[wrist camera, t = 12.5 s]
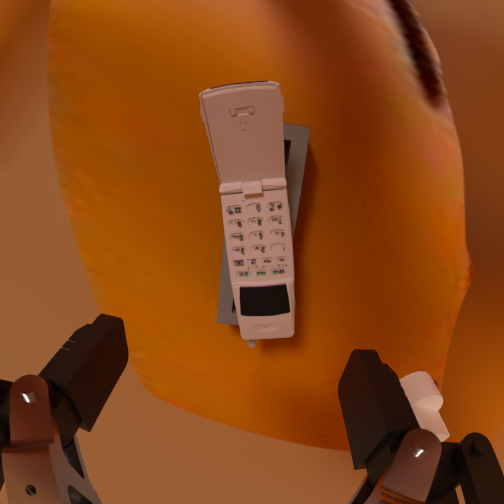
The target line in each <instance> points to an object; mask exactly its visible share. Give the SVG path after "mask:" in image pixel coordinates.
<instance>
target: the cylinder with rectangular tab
mask: <svg viewBox="0 0 504 504" xmlns="http://www.w3.org/2000/svg"><path fill="white" fill-rule="evenodd" d="M399 381H400V383H401V386H402V387H403V389H404V391H405V395H406V396H407V398H408V400H409V402H410V405H411V407H412V409H413V412H414V414H415V416H416V419H417V421H418V423H419V426H420V428H422V429H427V430H429V431H431V432H433V433H434V434H435V435H436V436H437V437H438V438H439V440H440V442H443V441H444V440H446V439H447V438H448V437H449V436H450V435H449V432H448V430H447V429H446V426H445V424H444V422H443V420H442V418H441V416H440V414H439V412H438V410H439V409H440V407H441V406H442V404H443V398H442V396H441V394H440V392H439V391H438V389H437V387H436V385H435V384H434V382H433V380H432V378H431V377H430V375H429V374H428V373H427V372H423V371H419V372H414V373H411V374H409V375H407V376H405V377H403V378H402V379H400V380H399Z"/></svg>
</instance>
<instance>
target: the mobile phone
mask: <svg viewBox="0 0 504 504" xmlns="http://www.w3.org/2000/svg"><path fill="white" fill-rule="evenodd" d="M199 98H200V103H201V106H200V112H201V117H202V121H203V122H205V127H206V131H207V135H208V139H209V143H210V147H211V150H212V154H213V158H214V162H215V166H216V170H217V174H218V178H219V176H220V178H219V182H220V180H221V182H220V186H219V191H220V195H221V201H222V211H223V212H222V213H223V222H224V231H225V240H226V249H227V257H228V264H229V272H230V280H231V285H232V291H233V297H234V302H235V307H236V312H237V318H238V322H239V328H240V333H241V337H242V338H243V339H245V340H247V341H248V345H249V347H255V344H256V339H271V338H287V337H292V336H293V334H294V331H295V308H296V300H295V296H294V278H295V272H294V256H293V241H292V228H291V217H290V207H289V204H288V196H287V188H286V186H287V184H286V179H285V158H284V137H283V118H282V116H283V115H282V113H284V99H283V96H281V94H280V85H279V83H277V82H274V81H257V82H245V83H235V84H228V85H223V86H219V87H214V88H210V89H207V90H205V91H203V92H201V93H200V95H199ZM281 103H282V104H281ZM218 171H219V173H218Z"/></svg>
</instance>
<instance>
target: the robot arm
mask: <svg viewBox="0 0 504 504" xmlns="http://www.w3.org/2000/svg"><path fill="white" fill-rule="evenodd" d="M128 354H129V353H128V346H127V341H126V335H125V329H124V323H123V320H122V319H121V318H119V317H115V316H111V315H107V314H100V315H99V316H98V317H97V318H96V320H95V321H94V322H93V323H92V324H87V325H85V326H83V327H81V328H80V329H78V330H76V331H75V332H74V334H73V335H72V336H71V337H70V338H69V341H67V342H66V343H65V344H64V345H63V346H62V348H61V349H60V350H59V351H58V352H57V353H56V354H55V356H54V357H53V358H52V359H51V360H50V361H49V363H48V364H47V365H46V366H45V367H44V369H43V370H42V371H41V372H40V374H39V375H38V376H37V375H24V376H22V377H20V378H18V379H17V380H16V381H15V382H10V381H6V380H1V379H0V490H1V488H2V486H3V483H4V481H5V486H6V492H7V497H8V502H9V504H102V502H101V500H100V498H99V497H98V495H97V493H96V491H95V490H94V488H93V486H92V485H91V483H90V480H89V477H88V474H87V471H86V468H85V465H84V461H83V458H82V455H81V451H80V447H79V444H78V439H77V436H76V432H77V430H78V428H81V429H84V430H86V431H88V432H90V431H91V429H92V427H93V425H94V424H95V422H96V420H97V418H98V416H99V414H100V412H101V410H102V408H103V407H104V405H105V403H106V401H107V399H108V397H109V396H110V394H111V392H112V390H113V388H114V387H115V385H116V383H117V381H118V379H119V378H120V376H121V374H122V372H123V371H124V369H125V367H126V365H127V362H128ZM338 396H339V400H340V404H341V409H342V413H343V418H344V422H345V427H346V431H347V436H348V440H349V445H350V450H351V455H352V460H353V465H354V469H355V470H357V469H365V468H366V469H367V474H368V475H367V476H366V477H365V478H364V480H363V481H362V483H361V484H360V486H359V488H358V489H357V491H356V492H355V494H354V495H353V497H352V499H351V500H350V502H349V503H348V504H459V501H458V498H457V494H456V490H455V488H456V487H458V486H459V485H461V488H462V492H463V496H464V499H465V503H466V504H504V475H503V473H502V470H501V467H500V465H499V462H498V460H497V457H496V455H495V452H494V450H493V448H492V445H491V443H490V441H489V440H488V439H487V438H486V437H485V436H484V435H482V434H480V433H476V432H475V433H470V434H468V435H467V436H466V437H465V438H464V439H463V440H462V441H461V442H460V443H454V442H440V440H439V438H438V437H437V436H436V435H435V434H434V433H433V432H431V431H429V430H427V429H422V428H420V426H419V423H418V421H417V419H416V416H415V414H414V412H413V409H412V407H411V405H410V402H409V400H408V398H407V396H406V395H405V391H404V389H403V387H402V386H401V383H400V381H399V379H398V376H397V374H396V373H395V372H394V371H393V370H392V369H391V368H390V367H389V366H388V365H387V364H382V362H381V360H380V358H379V356H378V354H377V352H376V351H375V350H361V349H355V350H353V351H352V353H351V355H350V358H349V360H348V362H347V365H346V367H345V369H344V372H343V374H342V376H341V378H340V381H339V386H338Z"/></svg>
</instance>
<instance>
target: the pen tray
mask: <svg viewBox="0 0 504 504" xmlns="http://www.w3.org/2000/svg"><path fill="white" fill-rule="evenodd" d="M309 132H310V127H305V126H299V125H293V124H287V123H283V137H284V158H285V179H286V184H287V186H286V188H287V196H288V204H289V207H290V217H291V228H292V241H293V237H294V231H295V225H296V219H297V213H298V207H299V201H300V195H301V188H302V182H303V175H304V168H305V161H306V154H307V147H308V140H309ZM217 322H218V323H225V324H232V325H239V322H238V318H237V312H236V307H235V302H234V297H233V291H232V285H231V280H230V272H229V264H228V257H227V249H226V240H225V232H224V242H223V253H222V264H221V276H220V288H219V301H218V314H217Z"/></svg>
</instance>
